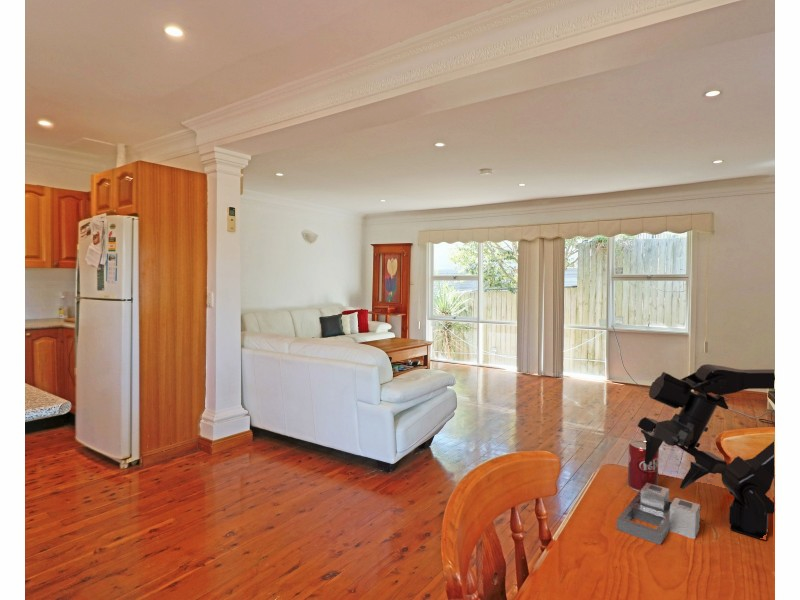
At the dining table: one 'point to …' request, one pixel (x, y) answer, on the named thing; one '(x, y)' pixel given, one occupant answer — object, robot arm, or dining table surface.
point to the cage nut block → (684, 518)
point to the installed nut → (655, 497)
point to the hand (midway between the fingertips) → (663, 475)
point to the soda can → (641, 466)
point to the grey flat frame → (647, 516)
